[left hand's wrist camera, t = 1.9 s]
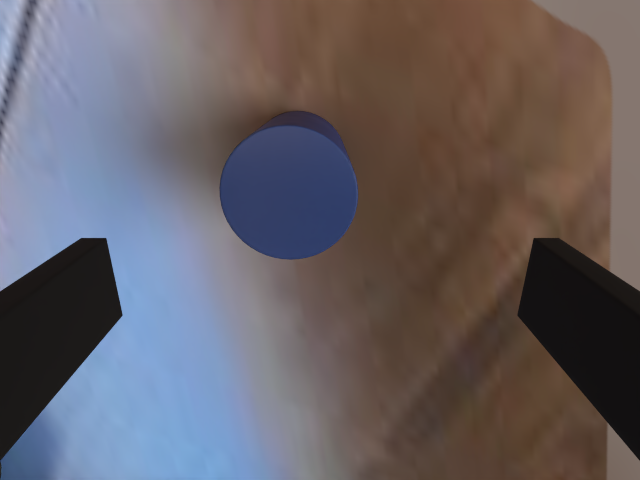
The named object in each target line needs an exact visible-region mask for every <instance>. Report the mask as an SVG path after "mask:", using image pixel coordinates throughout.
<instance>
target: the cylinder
mask: <svg viewBox="0 0 640 480" xmlns="http://www.w3.org/2000/svg"><path fill="white" fill-rule="evenodd" d="M220 200H221V206H222V209H223V212H224V215H225V217H226V219H227V222H228V223H229V225H230V226H231V228H232V230H233V231H234V232H235V233H236V235H237V236H238V237H239V238H240V239H241V240H242V241H243V242H245V243H246V244H247V245H248V246H250V247H251V248H253V249H255V250H256V251H258V252H260V253H263V254H265V255H268V256H271V257H274V258H280V259H301V258H307V257H310V256H313V255H316V254H319V253H321V252H323V251H325V250H326V249H328V248H330V247H331V246H332V245H334V244H335V243H336V242H337V241H338V240H339V239H340V238H341V237H342V236H343V235H344V233H345V232H346V231H347V229H348V228H349V226H350V224H351V222H352V220H353V217H354V215H355V212H356V208H357V201H358V186H357V180H356V176H355V173H354V170H353V167H352V165H351V162H350V160H349V157H348V155H347V152H346V149H345V147H344V144H343V142H342V140H341V138H340V136H339V134H338V133H337V131H336V130H335V129H334V127H333V126H332V125H331V124H330V123H329V122H327V121H326V120H325V119H323V118H321V117H319V116H318V115H315V114H312V113H309V112H304V111H291V112H286V113H283V114H280V115H278V116H276V117H274V118H272V119H271V120H270V121H268V122H267V123H266V124H264V125H263V126H262V127H260V128H259V129H258V130H256V131H255V132H254V133H252V134H251V135H250V136H248V137H247V138H246V139H244V140H243V141H242V142H241V143H240V144H239V145H238V146H237V147H236V148H235V149H234V150H233V152H232V153H231V154H230V156H229V158H228V159H227V161H226V163H225V166H224V168H223V171H222V175H221V180H220Z"/></svg>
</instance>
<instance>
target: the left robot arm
mask: <svg viewBox="0 0 640 480" xmlns="http://www.w3.org/2000/svg"><path fill="white" fill-rule="evenodd" d="M121 317H122V310H121V306H120V301H119V296H118V291H117V287H116V282H115V277H114V273H113V268H112V263H111V258H110V254H109V249H108V244H107V240H106V238H81V239H79V240H78V241H76V242H75V243H73V244H72V245H70V246H69V247H67V248H65V249H64V250H62V251H61V252H59V253H58V254H56V255H55V256H53V257H52V258H50V259H49V260H47V261H46V262H44V263H43V264H41V265H40V266H38V267H37V268H35V269H34V270H32V271H31V272H29V273H28V274H26V275H24V276H23V277H21V278H20V279H18V280H17V281H15V282H14V283H12V284H11V285H9V286H8V287H6V288H5V289H3V290H2V291H0V460H1V459H2V458H3V457H4V456H5V454H6V453H7V452H8V451H9V450H10V448H11V447H12V446H13V445H14V444H15V442H16V441H17V440H18V439H19V438H20V437H21V435H22V434H23V433H24V432H25V431H26V429H27V428H28V427H29V426H30V425H31V423H32V422H33V421H34V420H35V419H36V418H37V416H38V415H39V414H40V413H41V412H42V410H43V409H44V408H45V407H46V406H47V404H48V403H49V402H50V401H51V400H52V399H53V397H54V396H55V395H56V394H57V393H58V391H59V390H60V389H61V388H62V387H63V385H64V384H65V383H66V382H67V381H68V380H69V378H70V377H71V376H72V375H73V374H74V372H75V371H76V370H77V369H78V368H79V366H80V365H81V364H82V363H83V362H84V361H85V359H86V358H87V357H88V356H89V355H90V353H91V352H92V351H93V350H94V349H95V347H96V346H97V345H98V344H99V343H100V342H101V340H102V339H103V338H104V337H105V336H106V334H107V333H108V332H109V331H110V330H111V328H112V327H113V326H114V325H115V324H116V323H117V321H118V320H119V319H120V318H121ZM518 317H519V318H520V319H521V320H522V321H523V323H524V324H525V325H526V326H527V327H528V329H529V330H530V331H531V332H532V333H533V334H534V336H535V337H536V338H537V339H538V340H539V342H540V343H541V344H542V345H543V346H544V347H545V349H546V350H547V351H548V352H549V353H550V355H551V356H552V357H553V358H554V359H555V361H556V362H557V363H558V364H559V365H560V366H561V368H562V369H563V370H564V371H565V372H566V374H567V375H568V376H569V377H570V378H571V380H572V381H573V382H574V383H575V384H576V385H577V387H578V388H579V389H580V390H581V391H582V393H583V394H584V395H585V396H586V397H587V399H588V400H589V401H590V402H591V403H592V404H593V406H594V407H595V408H596V409H597V410H598V412H599V413H600V414H601V415H602V416H603V418H604V419H605V420H606V421H607V422H608V423H609V425H610V426H611V427H612V428H613V429H614V431H615V432H616V433H617V434H618V435H619V437H620V438H621V439H622V440H623V441H624V442H625V444H626V445H627V446H628V447H629V448H630V450H631V451H632V452H633V453H634V454H635V455H636V457H637V458H638V459H639V460H640V291H638V290H637V289H635V288H634V287H632V286H631V285H629V284H628V283H626V282H625V281H623V280H622V279H620V278H619V277H617V276H615V275H614V274H612V273H611V272H609V271H608V270H606V269H605V268H603V267H602V266H600V265H599V264H597V263H596V262H594V261H593V260H591V259H590V258H588V257H587V256H585V255H584V254H582V253H581V252H579V251H578V250H576V249H575V248H573V247H571V246H570V245H568V244H567V243H565V242H564V241H562V240H561V239H559V238H534V240H533V244H532V249H531V254H530V258H529V263H528V268H527V273H526V277H525V282H524V287H523V291H522V296H521V301H520V306H519V310H518Z"/></svg>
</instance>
